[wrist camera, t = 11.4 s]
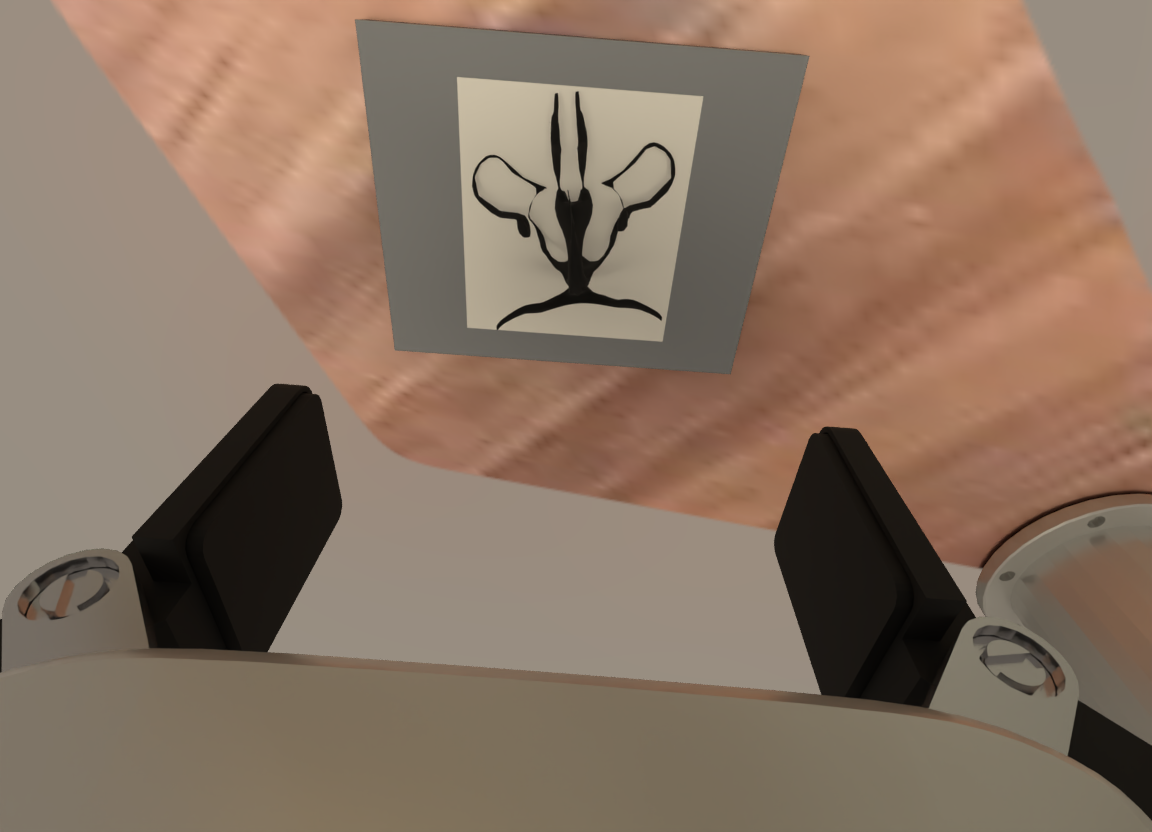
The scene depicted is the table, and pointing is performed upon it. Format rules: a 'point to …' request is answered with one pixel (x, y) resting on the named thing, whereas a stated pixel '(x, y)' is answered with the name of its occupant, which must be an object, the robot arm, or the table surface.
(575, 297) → the creature
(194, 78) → the table surface
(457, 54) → the grey picture mat
